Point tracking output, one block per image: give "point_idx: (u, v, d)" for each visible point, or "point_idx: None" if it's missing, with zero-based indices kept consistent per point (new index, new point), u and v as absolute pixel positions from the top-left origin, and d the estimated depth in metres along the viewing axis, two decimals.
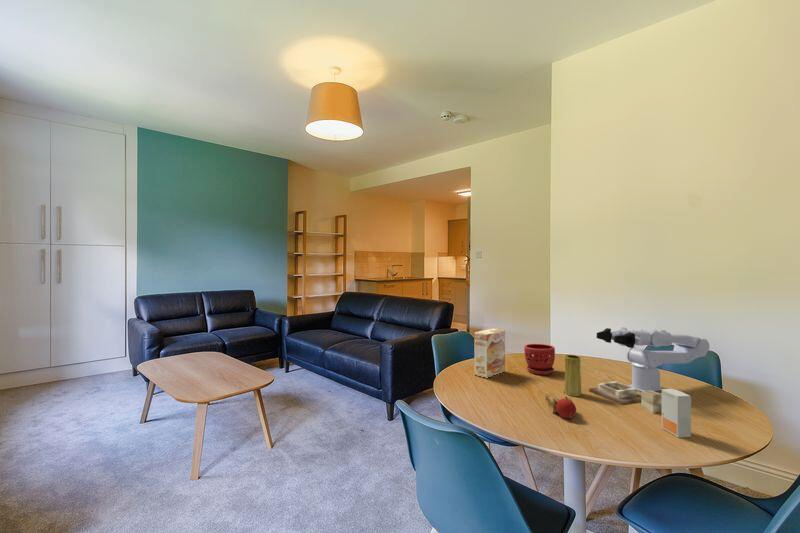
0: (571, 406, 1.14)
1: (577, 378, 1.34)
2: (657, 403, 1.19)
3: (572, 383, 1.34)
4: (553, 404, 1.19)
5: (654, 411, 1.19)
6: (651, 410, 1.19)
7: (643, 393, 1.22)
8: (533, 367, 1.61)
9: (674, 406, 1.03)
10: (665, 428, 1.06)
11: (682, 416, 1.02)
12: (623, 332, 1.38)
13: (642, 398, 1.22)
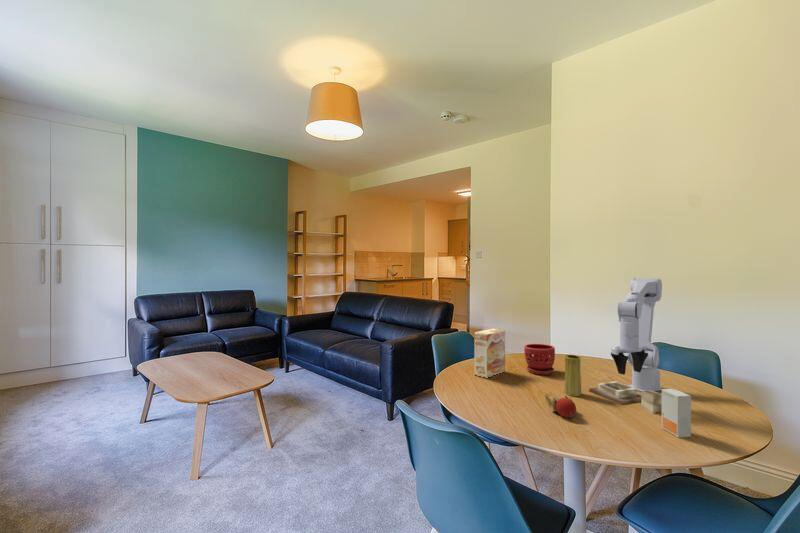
0: (572, 405, 1.14)
1: (577, 378, 1.34)
2: (657, 403, 1.19)
3: (572, 383, 1.34)
4: (553, 403, 1.19)
5: (654, 411, 1.19)
6: (651, 410, 1.19)
7: (643, 393, 1.22)
8: (533, 367, 1.61)
9: (674, 406, 1.03)
10: (665, 428, 1.06)
11: (682, 416, 1.02)
12: None
13: (642, 398, 1.22)
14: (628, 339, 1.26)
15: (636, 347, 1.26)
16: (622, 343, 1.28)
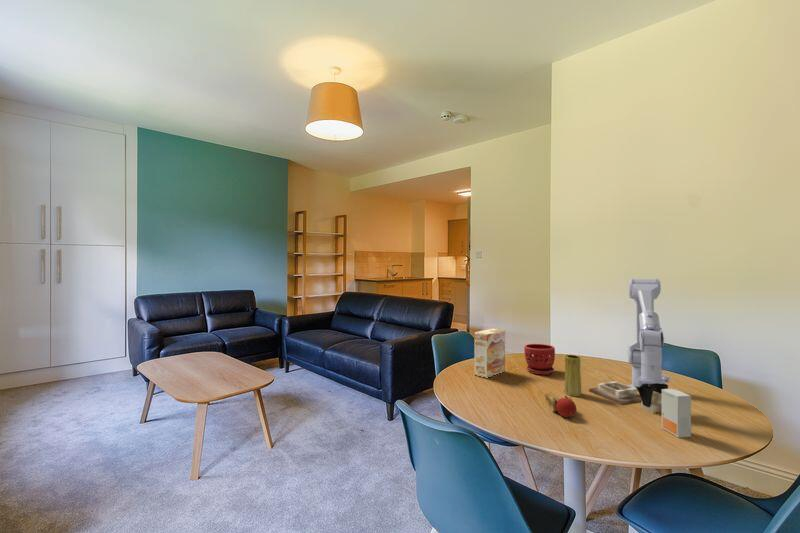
0: (572, 405, 1.15)
1: (577, 378, 1.34)
2: (657, 403, 1.19)
3: (572, 383, 1.34)
4: (553, 403, 1.19)
5: (654, 411, 1.19)
6: (651, 410, 1.19)
7: None
8: (533, 367, 1.61)
9: (674, 406, 1.03)
10: (665, 428, 1.06)
11: (682, 416, 1.02)
12: None
13: None
14: (650, 370, 1.19)
15: (659, 379, 1.18)
16: (644, 374, 1.20)
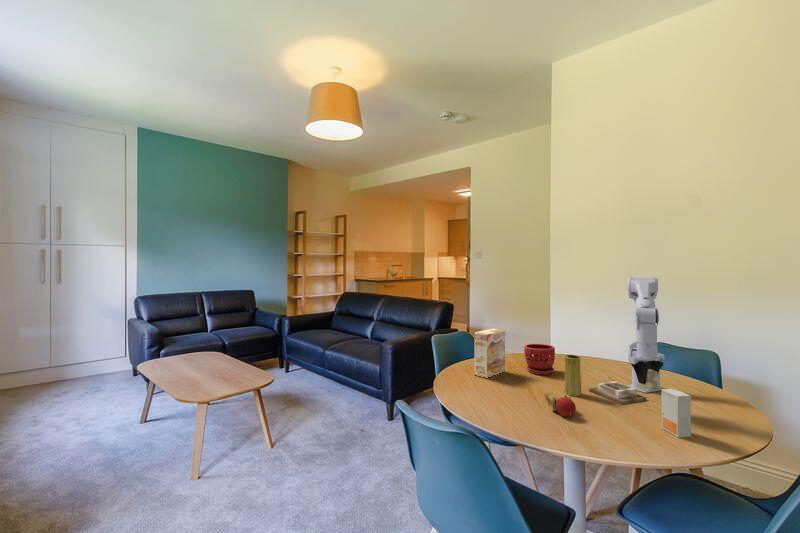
0: (571, 404, 1.15)
1: (577, 378, 1.34)
2: (652, 381, 1.21)
3: (572, 383, 1.34)
4: (553, 403, 1.20)
5: (650, 388, 1.20)
6: (647, 387, 1.21)
7: None
8: (533, 367, 1.61)
9: (674, 406, 1.03)
10: (665, 428, 1.06)
11: (682, 416, 1.02)
12: None
13: None
14: (646, 347, 1.20)
15: (654, 356, 1.20)
16: (639, 352, 1.22)
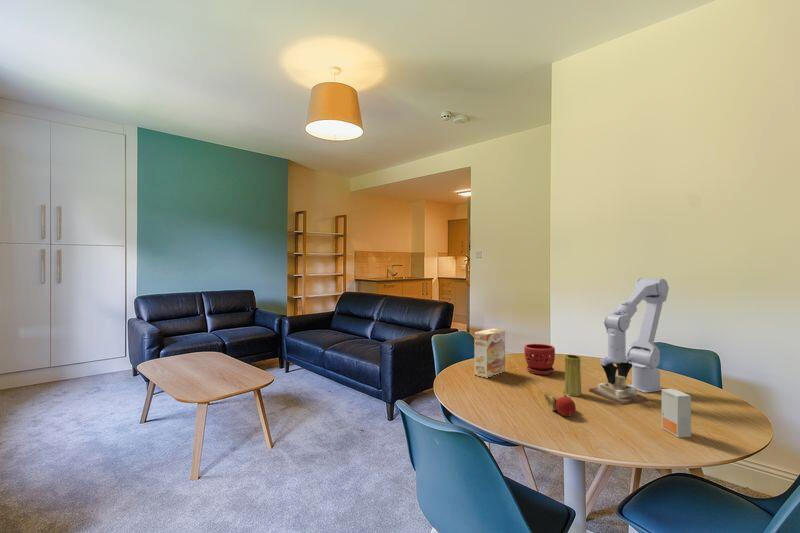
0: (571, 404, 1.15)
1: (577, 378, 1.34)
2: (621, 385, 1.33)
3: (572, 383, 1.34)
4: (553, 402, 1.20)
5: None
6: None
7: None
8: (533, 367, 1.61)
9: (674, 406, 1.03)
10: (665, 428, 1.06)
11: (682, 416, 1.02)
12: None
13: None
14: (615, 350, 1.32)
15: (623, 358, 1.32)
16: (610, 354, 1.34)
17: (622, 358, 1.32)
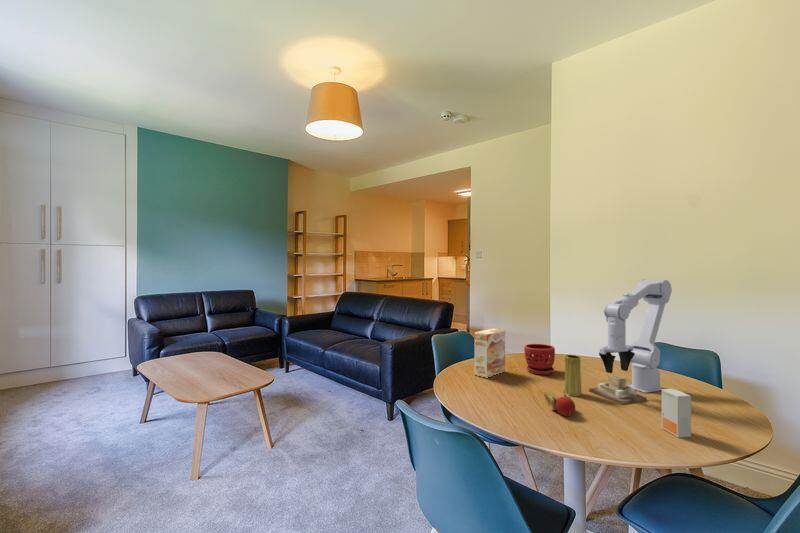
0: (571, 404, 1.16)
1: (577, 378, 1.34)
2: (622, 387, 1.32)
3: (572, 383, 1.34)
4: (553, 402, 1.20)
5: None
6: None
7: (610, 378, 1.35)
8: (533, 367, 1.61)
9: (674, 406, 1.03)
10: (665, 428, 1.06)
11: (682, 416, 1.02)
12: None
13: (609, 382, 1.35)
14: (615, 339, 1.32)
15: (623, 347, 1.32)
16: (610, 343, 1.34)
17: (622, 347, 1.32)
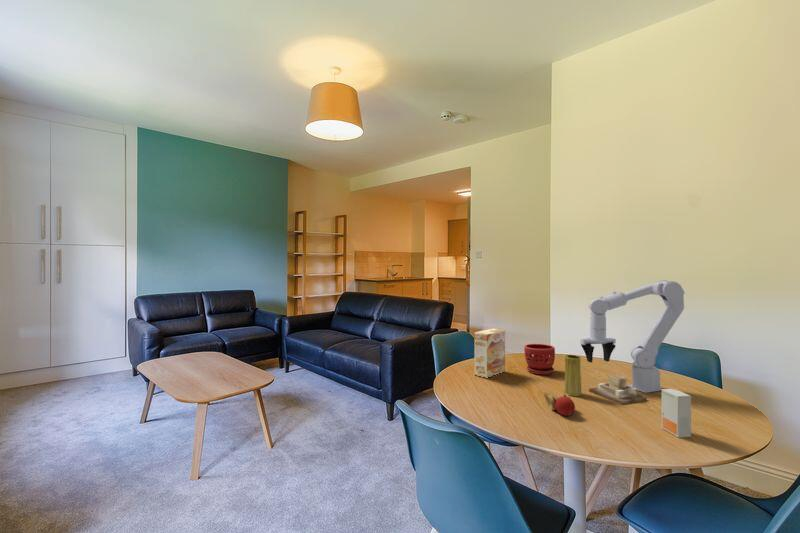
0: (570, 403, 1.16)
1: (577, 378, 1.34)
2: (622, 387, 1.32)
3: (572, 383, 1.34)
4: (552, 402, 1.20)
5: None
6: None
7: (610, 378, 1.35)
8: (533, 367, 1.61)
9: (674, 406, 1.03)
10: (665, 428, 1.06)
11: (682, 416, 1.02)
12: None
13: (609, 382, 1.35)
14: (595, 332, 1.45)
15: (602, 339, 1.44)
16: (591, 335, 1.47)
17: (601, 339, 1.44)
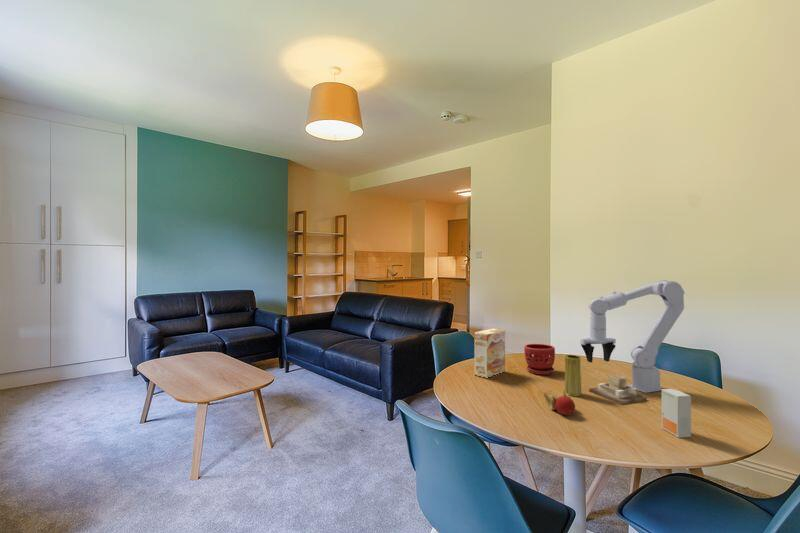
0: (571, 403, 1.16)
1: (577, 378, 1.34)
2: (622, 387, 1.32)
3: (572, 383, 1.34)
4: (552, 402, 1.21)
5: None
6: None
7: (610, 378, 1.35)
8: (533, 367, 1.61)
9: (674, 406, 1.03)
10: (665, 428, 1.06)
11: (682, 416, 1.02)
12: None
13: (609, 382, 1.35)
14: (595, 332, 1.45)
15: (602, 339, 1.44)
16: (591, 335, 1.47)
17: (601, 339, 1.44)
